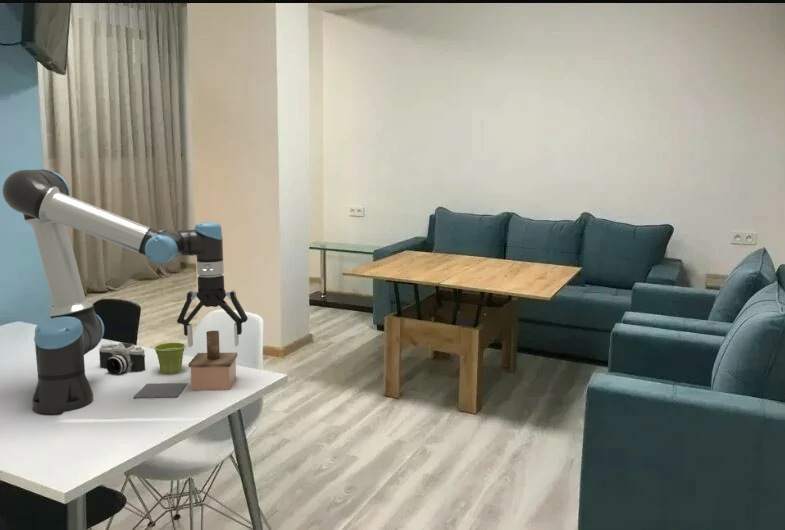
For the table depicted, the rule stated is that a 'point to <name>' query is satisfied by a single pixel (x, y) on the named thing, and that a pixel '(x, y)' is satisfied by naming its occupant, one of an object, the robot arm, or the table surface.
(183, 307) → the robot arm
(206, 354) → the lid
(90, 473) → the table surface
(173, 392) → the mat
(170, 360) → the plant pot
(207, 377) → the pink open box
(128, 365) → the camera
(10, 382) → the table surface
